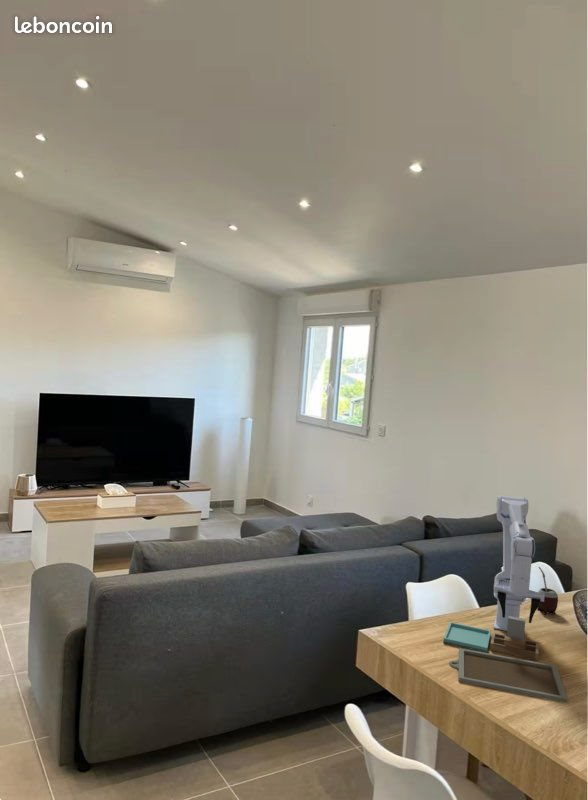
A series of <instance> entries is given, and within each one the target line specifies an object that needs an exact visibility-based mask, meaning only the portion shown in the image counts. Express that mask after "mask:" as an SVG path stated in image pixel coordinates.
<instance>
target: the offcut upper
mask: <svg viewBox="0 0 588 800" xmlns="http://www.w3.org/2000/svg"><path fill="white" fill-rule="evenodd" d="M525 640H526V639H524V640H520V639H516V638H511V637H507V635H506V636H505V638H504V645H506V646H510V647H515V648H519V649H524V650H525Z"/></svg>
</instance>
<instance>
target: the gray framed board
mask: <svg viewBox="0 0 588 800" xmlns="http://www.w3.org/2000/svg"><path fill="white" fill-rule="evenodd" d="M448 664H449V666H450V667H451V668H454V669H456V670H457V671H458V676H457V677H458V678H457V679H458V682H459V683H465V684H470V685H474V686H477V687H478V686H479V687H485V688H490V689H494V690H498V691H499V690H500V691H505V692H510V693H515V694H521V695H524V696H525V695H526V696H529V697H535V698H536V697H537V698H540V699H545V698H546V699H545V700H550V699H551V701H556V702H560V701H561V703H565V702H566V703H567V704H568V696H567V693H566V691H565V687H564V685H563V681H562V679H561V676H560V673H559V669H558V666H557V665H554V664H549V663H544V662H540V661H539V662H538V661H534V660H529V659H528V660H527V659H521V658H516V657H511V656H510V657H509V656H505V655H500V654H493V653H488V652H487V653H486V652H481V651H477V650H473V649H468V648H462V647H460V648H458V658H457V659H456V660H450V661H449V663H448Z"/></svg>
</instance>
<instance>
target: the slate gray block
mask: <svg viewBox="0 0 588 800" xmlns="http://www.w3.org/2000/svg"><path fill="white" fill-rule="evenodd" d="M525 630H526V619H525V618H522V617H519V618H517V617H512V616H508V626H507V631H506V636H507V637H511V638H516V639H520V640H525Z"/></svg>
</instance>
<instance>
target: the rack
mask: <svg viewBox="0 0 588 800" xmlns="http://www.w3.org/2000/svg"><path fill="white" fill-rule="evenodd" d="M505 636H507V634H506V635H504V634H499V633H496V632H492V633H491V638H490V643H489V644H490V646H489V647H490V648H489V650H490V651H493V652H498V653H501V654H506V655H509V656H510V655H511V656H515V657H518V658H519V657H520V658H524V659H526V660H527V659H528V660H531V661H535V662H538V660H539V652H540V651H539V644H540V643H539V642H538V641H537V642H536V641H533V640H529V639H528V640H527V639H524V640H525V650H524V649H519V648H515V647H510V646H506V645H504V638H505Z"/></svg>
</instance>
